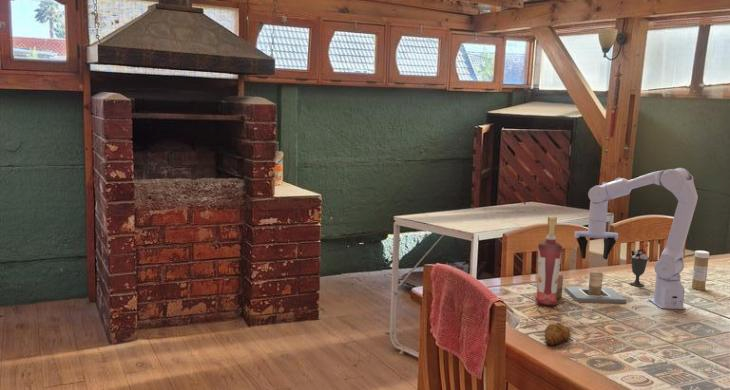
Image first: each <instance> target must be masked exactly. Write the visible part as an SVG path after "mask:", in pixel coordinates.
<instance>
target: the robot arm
mask: <svg viewBox="0 0 730 390" xmlns="http://www.w3.org/2000/svg"><path fill="white" fill-rule="evenodd" d="M653 184H654V185H657V186H662V187H663V188H665V189H666V190H668V191H670V193H672V194H673V195H674V197H675V198H676V199H677V201H678V202H677V205H676V208H675V212H674V216H673V220H672V223H671V226H670V230H669V233H668V237H667V241H666V244H665V247H664V249H663V251H662V252H661V255H660V257H659V258H658V260H657V261H656V262H655V263H654V272H655V283H654V290H653V291H654V292H653V297H652V298H651V297H649V298H648V301H650V302H651V303H653V304H654V305H655V306H657V307H658V308H660V309H671V310H672V309H673V310H686V307H685V306H684V300H685V292H686V291H685V287H684V285H683V284H682V282H681V279H682V278H681V272H682V271H683V270H684V267H685V262H684V256H685V253H684V247H685V244H686V241H687V238H688V237H687V236H688V234H689V231H690V226H691V223H692V220H693V216H694V215H695V214H694V212H695V211H696V206H697V202H698V199H699V196H698V193H697V192H698V191H697V189H696V185H695V183H694V176H693V175H692V174H691V173H690V172H689V170H688V169H686V168H683V167H677V168H669V169H665V170H658V171H653V172H649V173H646V174H643V175H640V176H638V177H634V178H632V179H629V180H628V179H626V178H624V177H622V178H621V177H616V178H615V179H614V180H612V181H609V182H606V181H603V182H602V183H601V185H594V186H593V187H590V189H589V191H588V193H587V196H588V199H589V200H590V202H589V215H588V226H587V230H580V231H574V238H575V239H576V241H577V242H578V246H579V250H580V255H581V259H586V256H587V248H588V247H587V246H588V242H589V241H588V239H603V254H602V259H604V260H608V258H609V255H610V252H611V251H612V248H613V247H614V245H616V243H617V242H616V241H617V240H618V239H619V233H618V232H610V231H607V230H606V228H607V217H608V204H609V201H610V200H615V199H616V198H620V197H624V196H628V195H630V193H631V191H632V190H633V189H637V188H642V187H645V186H649V185H653Z"/></svg>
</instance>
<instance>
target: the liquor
mask: <svg viewBox="0 0 730 390" xmlns="http://www.w3.org/2000/svg"><path fill="white" fill-rule="evenodd" d="M557 218H558V217H557V216H547V231H546V232H547V233H546V237H545V241H542V242H540V243H539V244H538V245H537V284H536V285H537V287H536V296H535V298H534V299H535V301H536V303H537V304H539V305H541V306H543V307H552V306H554V305H555V304H557V303H558V298H556V295H557V285H558V277H559V274H560V269H561V262H562V253H563V246H562V245H561V244H560V243H559V242H557V241H556V240H557V239H556V237H557V236H556V227H557V221H558V219H557Z"/></svg>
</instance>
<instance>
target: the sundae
mask: <svg viewBox="0 0 730 390" xmlns="http://www.w3.org/2000/svg"><path fill="white" fill-rule="evenodd" d="M646 247H648V245H647V244H645V245H644V246H643V247H642V248H640V249H637V250H635V251H634V250H631V255H629V258H630V260H631V272H632V273H633V274H634V275H635V280H634V282H629V285H630V286H632V287H637V288H641V287H642V288H643V287H645V284H643V283H641V282H640V276H642V275H643V274H644V273H645V271H646V267H647V264H648V262H649V261H650V260H651V259H650V257H649V256H648V254H647V251H646V250H645V248H646Z"/></svg>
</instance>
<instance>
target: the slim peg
mask: <svg viewBox="0 0 730 390" xmlns="http://www.w3.org/2000/svg"><path fill="white" fill-rule="evenodd" d="M603 275H604V274H603V272H601V271H590V272H589V278H588V280H589V282H588V287H589V289H588V293H587V295H590V296H602V294H601V288H603V278H604V277H603Z"/></svg>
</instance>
